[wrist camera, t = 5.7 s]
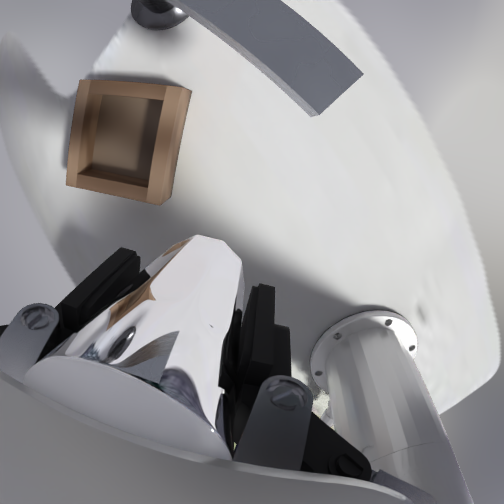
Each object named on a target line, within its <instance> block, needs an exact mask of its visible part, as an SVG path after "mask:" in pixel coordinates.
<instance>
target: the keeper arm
mask: <svg viewBox="0 0 504 504" xmlns="http://www.w3.org/2000/svg"><path fill="white" fill-rule="evenodd" d="M166 1H167V2H169V3H170V4H172V5H173V6H175V7H177V8H178V9H180V10H181V11H183V12H184V13H186V14H187V15H188V16H190V17H191V18H193V19H194V20H196V21H197V22H199V23H200V24H201V25H203V26H204V27H206V28H207V29H208V30H210V31H211V32H212V33H214V34H215V35H216V36H218V37H219V38H220V39H222V40H223V41H224V42H226V43H227V44H228V45H229V46H231V47H232V48H233V49H235V50H236V51H237V52H238V53H240V54H241V55H242V56H243V57H245V58H246V59H247V60H248V61H249V62H251V63H252V64H253V65H254V66H255V67H257V68H258V69H259V70H260V71H261V72H262V73H264V74H265V75H266V76H267V77H268V78H269V79H271V80H272V81H273V82H274V83H275V84H276V85H277V86H278V87H279V88H281V89H282V90H283V91H284V92H285V93H286V94H287V95H288V96H289V97H290V98H291V99H293V100H294V101H295V102H296V103H297V104H298V105H299V106H300V107H301V108H302V109H303V110H304V111H305V112H306V113H307V114H308V115H309V116H310V117H312V116H317V115H320V114H321V113H322V112H323V111H324V110H325V109H326V108H327V107H328V106H330V105H331V104H332V103H333V102H334V101H335V100H336V99H337V98H338V97H339V96H340V95H341V94H342V93H344V92H345V91H346V90H347V89H348V88H349V87H350V86H351V85H352V84H353V83H355V82H356V81H357V80H358V79H359V78H360V77H361V76H362V75H363V73H362V72H361V71H360V70H359V69H358V68H357V67H356V66H355V65H354V64H353V63H352V62H351V61H350V60H349V59H348V58H347V57H346V56H345V55H344V54H343V53H342V52H341V51H340V50H339V49H338V48H337V47H336V46H335V45H334V44H333V43H332V42H330V41H329V40H328V39H327V38H326V37H325V36H324V35H323V34H321V33H320V32H319V31H318V30H317V29H316V28H315V27H313V26H312V25H311V24H310V23H309V22H307V21H306V20H305V19H304V18H303V17H301V16H300V15H299V14H298V13H296V12H295V11H294V10H293V9H291V8H290V7H289V6H287V5H286V4H285V3H283V2H282V1H281V0H166Z"/></svg>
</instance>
